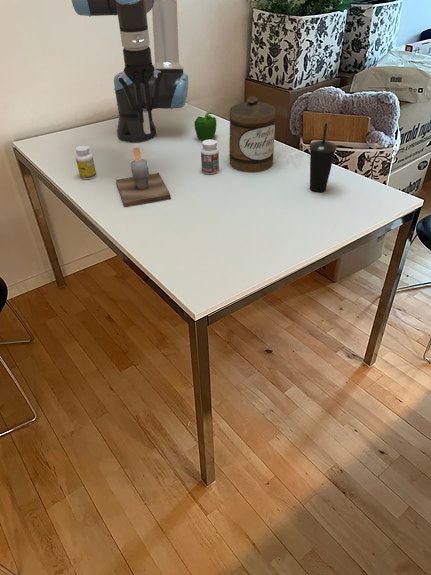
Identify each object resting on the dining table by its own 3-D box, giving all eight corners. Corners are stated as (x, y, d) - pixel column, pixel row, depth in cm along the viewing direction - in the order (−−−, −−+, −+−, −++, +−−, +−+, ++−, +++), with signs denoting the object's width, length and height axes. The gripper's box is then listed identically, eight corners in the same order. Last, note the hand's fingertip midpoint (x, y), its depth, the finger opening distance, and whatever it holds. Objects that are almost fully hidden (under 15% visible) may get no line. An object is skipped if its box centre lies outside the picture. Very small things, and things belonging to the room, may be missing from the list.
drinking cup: (314, 181, 144) (322, 117, 131) (335, 188, 139) (345, 123, 127) (300, 189, 140) (306, 124, 127) (320, 197, 135) (329, 131, 123)
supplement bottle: (76, 176, 151) (70, 148, 144) (90, 171, 154) (84, 143, 147) (86, 181, 148) (79, 152, 141) (100, 175, 151) (94, 147, 144)
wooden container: (246, 176, 148) (247, 107, 134) (221, 161, 157) (219, 95, 143) (281, 165, 154) (286, 97, 140) (255, 150, 163) (257, 86, 149)
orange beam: (149, 177, 136) (147, 164, 134) (132, 179, 136) (130, 166, 133) (145, 159, 147) (144, 147, 144) (130, 161, 146) (128, 149, 143)
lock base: (116, 183, 146) (113, 168, 142) (159, 176, 149) (157, 161, 146) (124, 207, 134) (121, 190, 131) (170, 199, 137) (169, 182, 134)
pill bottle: (217, 175, 149) (216, 146, 142) (200, 174, 150) (198, 145, 143) (220, 168, 153) (219, 139, 147) (204, 167, 154) (202, 138, 148)
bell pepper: (197, 144, 169) (196, 117, 163) (193, 136, 175) (191, 110, 169) (219, 142, 170) (219, 115, 164) (214, 134, 177) (213, 107, 170)
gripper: (115, 53, 119) (128, 140, 135) (163, 47, 122) (171, 133, 138) (110, 46, 125) (123, 131, 140) (156, 41, 128) (164, 124, 143)
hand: (147, 132), depth 139 cm, fingers closed
